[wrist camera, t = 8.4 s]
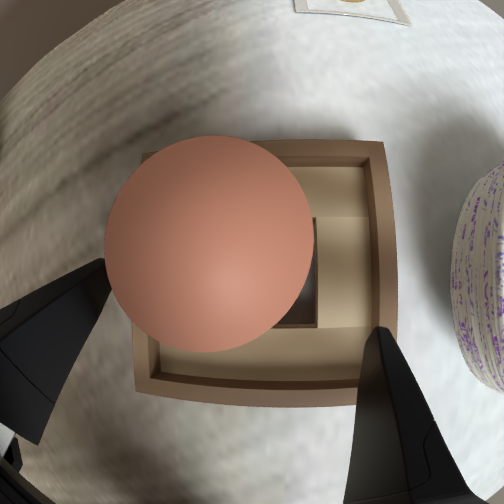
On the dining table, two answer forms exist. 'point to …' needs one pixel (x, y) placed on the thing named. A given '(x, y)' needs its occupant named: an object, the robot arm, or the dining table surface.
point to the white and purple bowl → (481, 279)
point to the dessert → (394, 4)
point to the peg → (209, 243)
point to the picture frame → (326, 295)
